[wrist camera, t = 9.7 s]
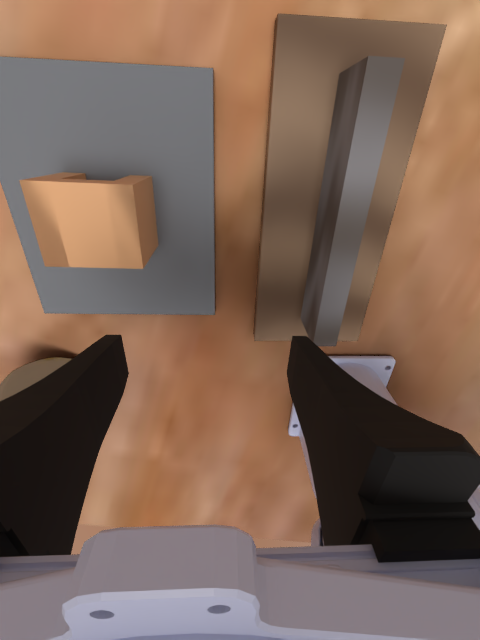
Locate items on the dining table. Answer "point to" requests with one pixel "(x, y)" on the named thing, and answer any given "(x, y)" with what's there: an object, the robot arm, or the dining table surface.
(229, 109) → the dining table surface
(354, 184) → the stand
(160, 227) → the mat
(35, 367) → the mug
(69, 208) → the u-shaped block
